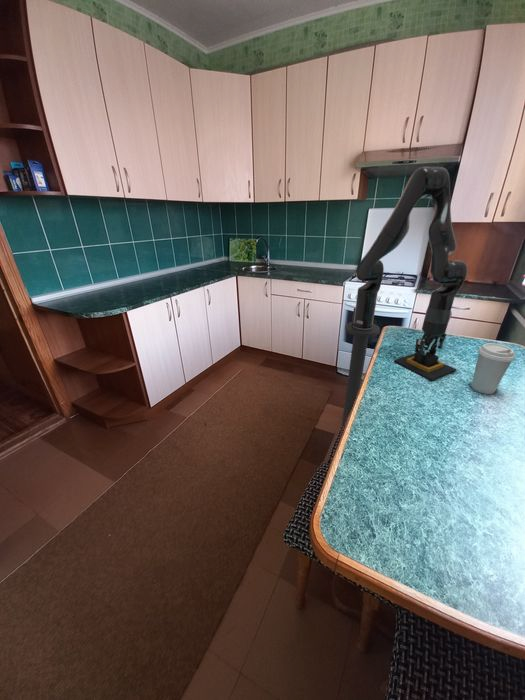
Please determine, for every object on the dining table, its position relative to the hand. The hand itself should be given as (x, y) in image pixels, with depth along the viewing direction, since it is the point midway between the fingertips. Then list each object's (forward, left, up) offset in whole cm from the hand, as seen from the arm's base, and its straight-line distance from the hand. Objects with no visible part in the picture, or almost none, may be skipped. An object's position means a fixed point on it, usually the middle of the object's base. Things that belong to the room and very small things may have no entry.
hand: (425, 360), depth 110 cm
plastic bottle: (-10, +21, -3) cm, 23 cm away
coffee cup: (+19, +4, -3) cm, 20 cm away
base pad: (0, 0, -3) cm, 3 cm away
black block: (0, 0, -1) cm, 1 cm away
